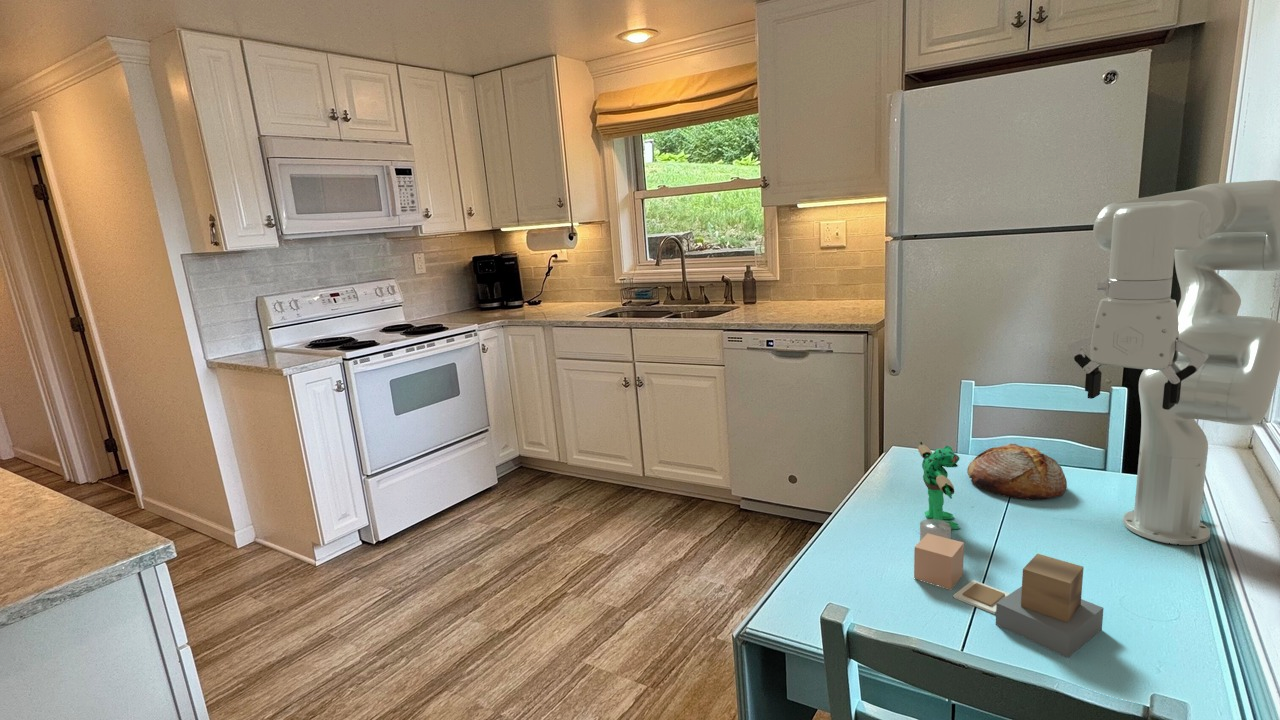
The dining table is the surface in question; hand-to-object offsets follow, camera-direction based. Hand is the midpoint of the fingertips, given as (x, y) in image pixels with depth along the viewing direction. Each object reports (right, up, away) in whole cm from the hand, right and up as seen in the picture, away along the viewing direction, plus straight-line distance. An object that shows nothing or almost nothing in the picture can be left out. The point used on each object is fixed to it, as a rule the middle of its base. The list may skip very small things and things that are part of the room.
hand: (1129, 401), depth 102 cm
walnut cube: (-15, -29, -5) cm, 33 cm away
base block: (-15, -33, -4) cm, 37 cm away
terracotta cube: (-24, -31, +11) cm, 41 cm away
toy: (-15, -26, +30) cm, 43 cm away
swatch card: (-20, -32, +4) cm, 38 cm away
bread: (+7, -21, +44) cm, 50 cm away
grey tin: (-22, -29, +18) cm, 41 cm away
